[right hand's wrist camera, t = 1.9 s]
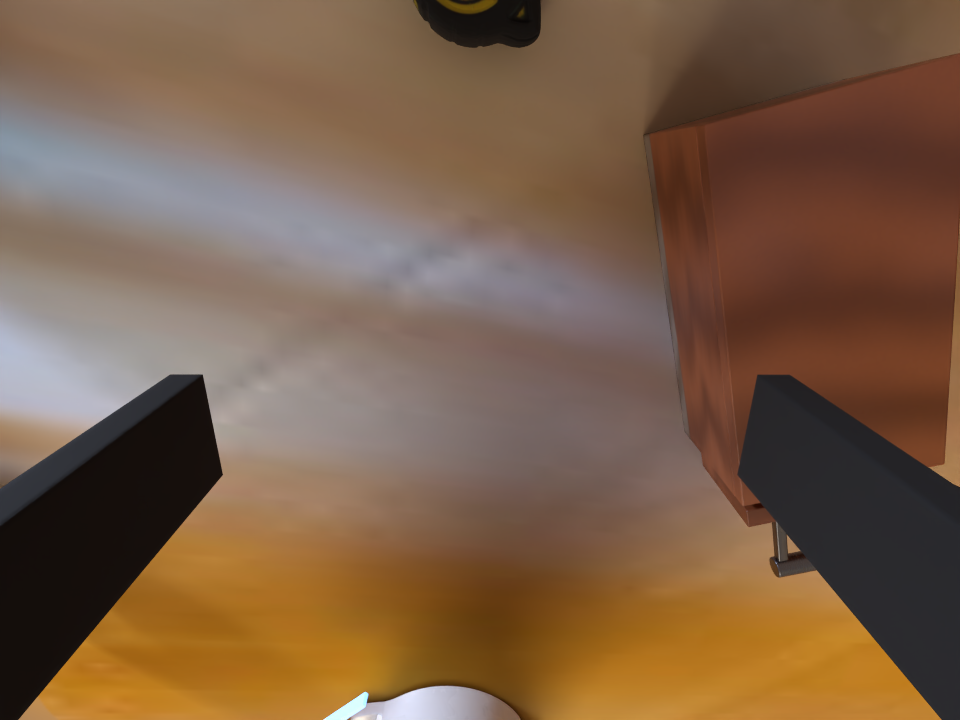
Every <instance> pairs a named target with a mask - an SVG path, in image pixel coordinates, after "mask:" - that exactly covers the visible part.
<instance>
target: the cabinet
mask: <svg viewBox="0 0 960 720" xmlns="http://www.w3.org/2000/svg"><path fill="white" fill-rule="evenodd" d="M644 142H645V149H646V156H647V164H648V171H649V178H650V185H651V192H652V199H653V207H654V214H655V221H656V228H657V235H658V242H659V250H660V257H661V264H662V271H663V278H664V286H665V293H666V300H667V307H668V314H669V321H670V329H671V336H672V343H673V350H674V357H675V365H676V372H677V379H678V386H679V393H680V400H681V408H682V415H683V422H684V429H685V433H686V434H687V435H688V437H689V438H690V439H691V440H692V441H693V443H694V444H695V445H696V446H697V448H698V449H699V450H700V452H701V453H702V454H703V456H704V457H705V458H706V459H707V461H708V462H709V463H710V465H711V466H712V467H713V469H714V470H715V471H716V473H717V474H718V475H719V476H720V478H721V479H722V480H723V482H724V483H725V484H726V486H727V487H728V488H729V489H730V491H731V492H732V493H733V495H734V496H735V497H736V498H737V499H738V501H739V502H740V503H741V505H742V506H747V505H752V504H756V503H760V502H759V500H758V499H757V498H756V497H755V496H754V494H753V493H752V492H751V491H750V490H749V488H748V487H747V486H746V485H745V484H744V482H743V481H742V480H741V479H740V478H739V476H738V475H737V473H738V468H739V463H740V458H741V454H742V449H743V444H744V439H745V434H746V429H747V424H748V419H749V414H750V409H751V404H752V399H753V394H754V389H755V384H756V379H757V375H791V376H792V377H794V378H795V379H797V380H798V381H800V382H801V383H803V384H804V385H806V386H807V387H809V388H810V389H812V390H813V391H815V392H816V393H818V394H819V395H821V396H822V397H824V398H825V399H827V400H828V401H830V402H831V403H833V404H834V405H836V406H837V407H839V408H840V409H842V410H843V411H845V412H846V413H848V414H849V415H851V416H852V417H854V418H855V419H857V420H858V421H860V422H861V423H863V424H864V425H866V426H867V427H869V428H870V429H872V430H873V431H875V432H876V433H878V434H879V435H880V436H882V437H883V438H885V439H886V440H888V441H889V442H891V443H892V444H894V445H895V446H897V447H898V448H900V449H901V450H903V451H904V452H906V453H907V454H909V455H910V456H912V457H913V458H915V459H916V460H918V461H919V462H921V463H922V464H924V465H925V466H927V467H932V466H937V465H942V464H944V462H945V446H946V429H947V413H948V397H949V381H950V365H951V348H952V332H953V316H954V300H955V283H956V267H957V251H958V235H959V219H960V53H958V54H954V55H949V56H945V57H940V58H936V59H932V60H927V61H923V62H919V63H914V64H910V65H906V66H901V67H897V68H893V69H888V70H884V71H880V72H875V73H871V74H867V75H862V76H858V77H854V78H849V79H844V80H840V81H835V82H832V83H828V84H825V85H821V86H817V87H814V88H810V89H807V90H803V91H799V92H796V93H792V94H789V95H785V96H781V97H778V98H774V99H771V100H767V101H763V102H760V103H756V104H753V105H749V106H745V107H742V108H738V109H735V110H731V111H727V112H724V113H720V114H717V115H713V116H709V117H706V118H702V119H699V120H695V121H692V122H688V123H684V124H681V125H677V126H674V127H670V128H666V129H663V130H659V131H656V132H652V133H648V134H645V135H644Z"/></svg>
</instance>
